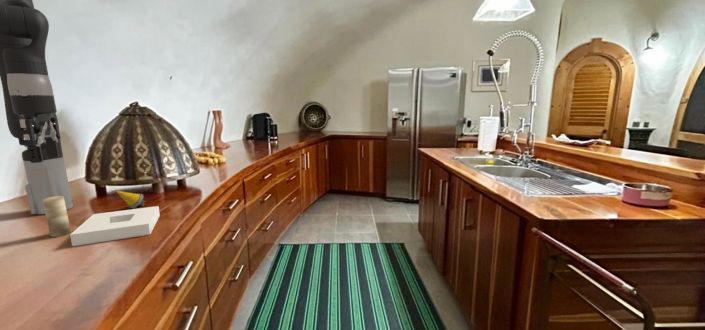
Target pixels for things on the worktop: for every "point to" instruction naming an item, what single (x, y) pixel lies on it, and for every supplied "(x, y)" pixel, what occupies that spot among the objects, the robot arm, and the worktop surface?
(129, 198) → the drill bit
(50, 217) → the wooden peg
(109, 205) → the worktop surface
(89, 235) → the socket board
